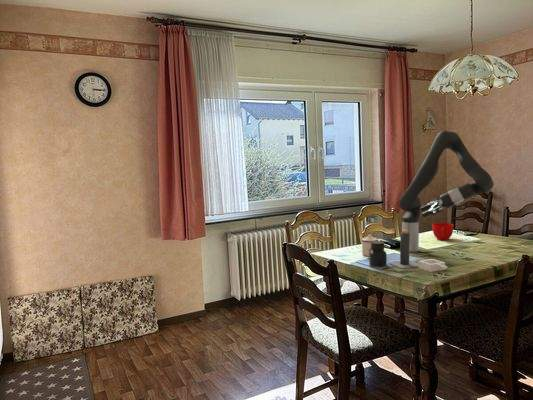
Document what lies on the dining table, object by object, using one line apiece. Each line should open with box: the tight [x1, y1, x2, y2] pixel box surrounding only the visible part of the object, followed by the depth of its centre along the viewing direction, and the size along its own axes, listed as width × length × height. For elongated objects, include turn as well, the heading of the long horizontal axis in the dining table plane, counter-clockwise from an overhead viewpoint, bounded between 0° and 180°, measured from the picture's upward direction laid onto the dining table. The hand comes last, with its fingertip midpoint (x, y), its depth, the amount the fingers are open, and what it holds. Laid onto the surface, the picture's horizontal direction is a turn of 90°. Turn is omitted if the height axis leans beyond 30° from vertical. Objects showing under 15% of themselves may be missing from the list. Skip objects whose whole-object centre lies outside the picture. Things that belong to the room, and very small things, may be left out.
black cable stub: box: [399, 229, 410, 265], centre depth 215 cm, size 4×4×18 cm
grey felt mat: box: [388, 260, 418, 270], centre depth 215 cm, size 12×12×1 cm
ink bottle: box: [368, 240, 388, 268], centre depth 217 cm, size 10×9×12 cm
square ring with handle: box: [417, 258, 448, 273], centre depth 203 cm, size 15×9×4 cm, turn 18°
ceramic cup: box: [431, 222, 454, 241], centre depth 273 cm, size 13×17×10 cm
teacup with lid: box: [361, 234, 379, 257], centre depth 241 cm, size 12×9×12 cm
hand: (422, 212), depth 216 cm, fingers open, 8 cm apart
